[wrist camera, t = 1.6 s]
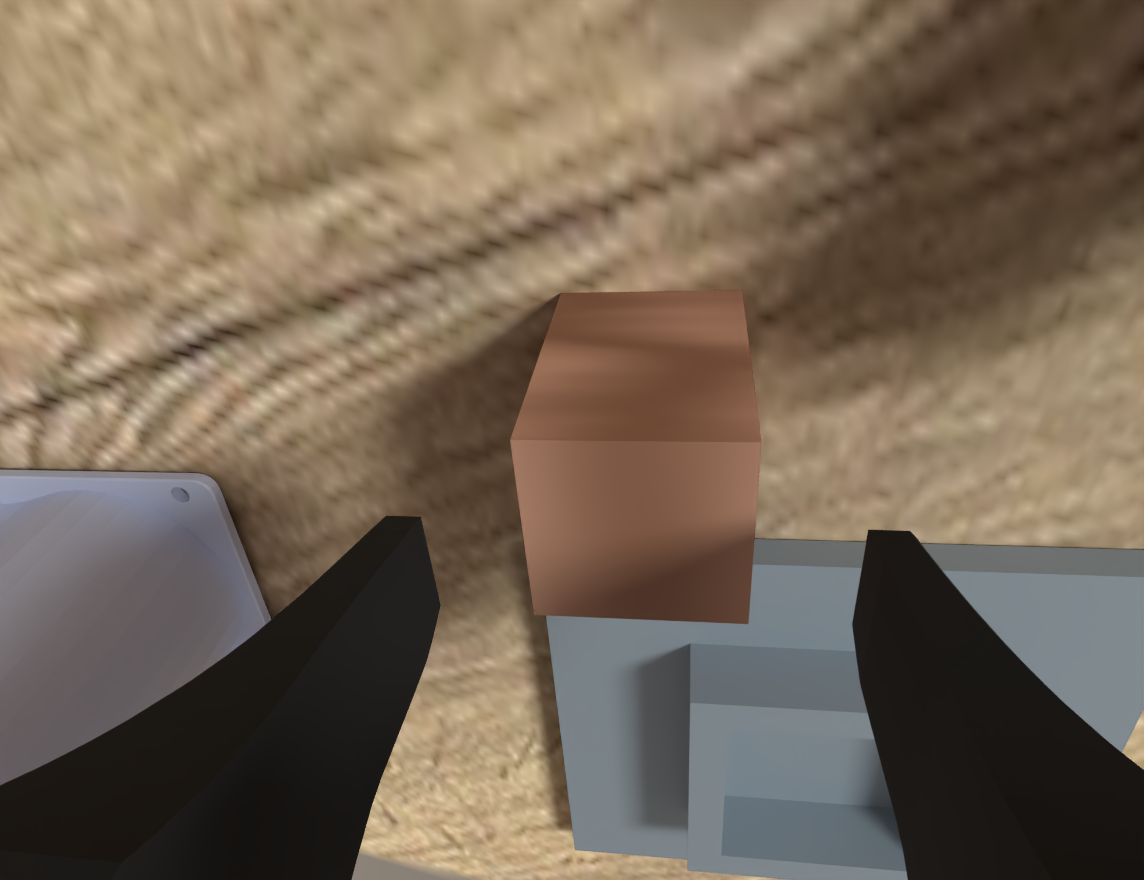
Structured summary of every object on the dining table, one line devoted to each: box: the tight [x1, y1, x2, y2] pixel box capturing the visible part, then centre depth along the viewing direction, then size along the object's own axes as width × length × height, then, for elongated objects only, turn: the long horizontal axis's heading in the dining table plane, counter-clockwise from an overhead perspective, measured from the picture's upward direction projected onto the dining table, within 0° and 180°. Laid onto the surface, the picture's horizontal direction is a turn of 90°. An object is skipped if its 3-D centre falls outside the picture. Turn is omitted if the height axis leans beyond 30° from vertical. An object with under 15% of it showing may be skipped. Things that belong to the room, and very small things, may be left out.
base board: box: [546, 539, 1144, 880], centre depth 23 cm, size 16×14×3 cm
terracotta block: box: [510, 290, 761, 624], centre depth 16 cm, size 4×4×6 cm
